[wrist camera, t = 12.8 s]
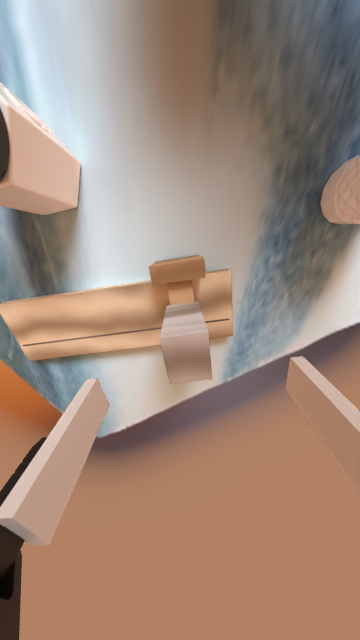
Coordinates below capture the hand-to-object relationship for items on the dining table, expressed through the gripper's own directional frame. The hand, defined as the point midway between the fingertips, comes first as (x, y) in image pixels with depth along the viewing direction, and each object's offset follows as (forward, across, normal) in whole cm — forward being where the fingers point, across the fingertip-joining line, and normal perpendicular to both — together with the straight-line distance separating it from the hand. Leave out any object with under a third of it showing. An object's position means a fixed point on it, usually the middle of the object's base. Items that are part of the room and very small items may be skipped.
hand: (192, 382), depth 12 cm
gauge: (+16, 0, -1) cm, 16 cm away
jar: (+17, -14, +18) cm, 29 cm away
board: (+16, -10, -1) cm, 19 cm away
